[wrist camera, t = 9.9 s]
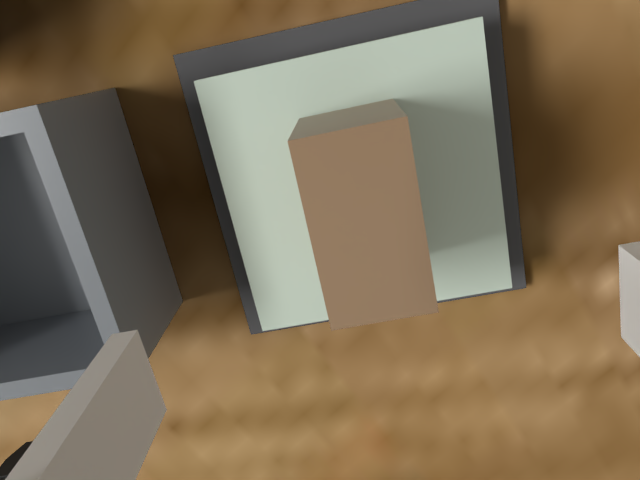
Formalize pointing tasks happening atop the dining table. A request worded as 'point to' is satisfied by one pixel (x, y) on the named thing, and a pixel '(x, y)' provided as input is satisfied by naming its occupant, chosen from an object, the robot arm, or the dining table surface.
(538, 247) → the dining table surface
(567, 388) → the dining table surface
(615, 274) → the dining table surface
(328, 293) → the block on square base
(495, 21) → the mat
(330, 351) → the dining table surface
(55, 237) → the storage box
